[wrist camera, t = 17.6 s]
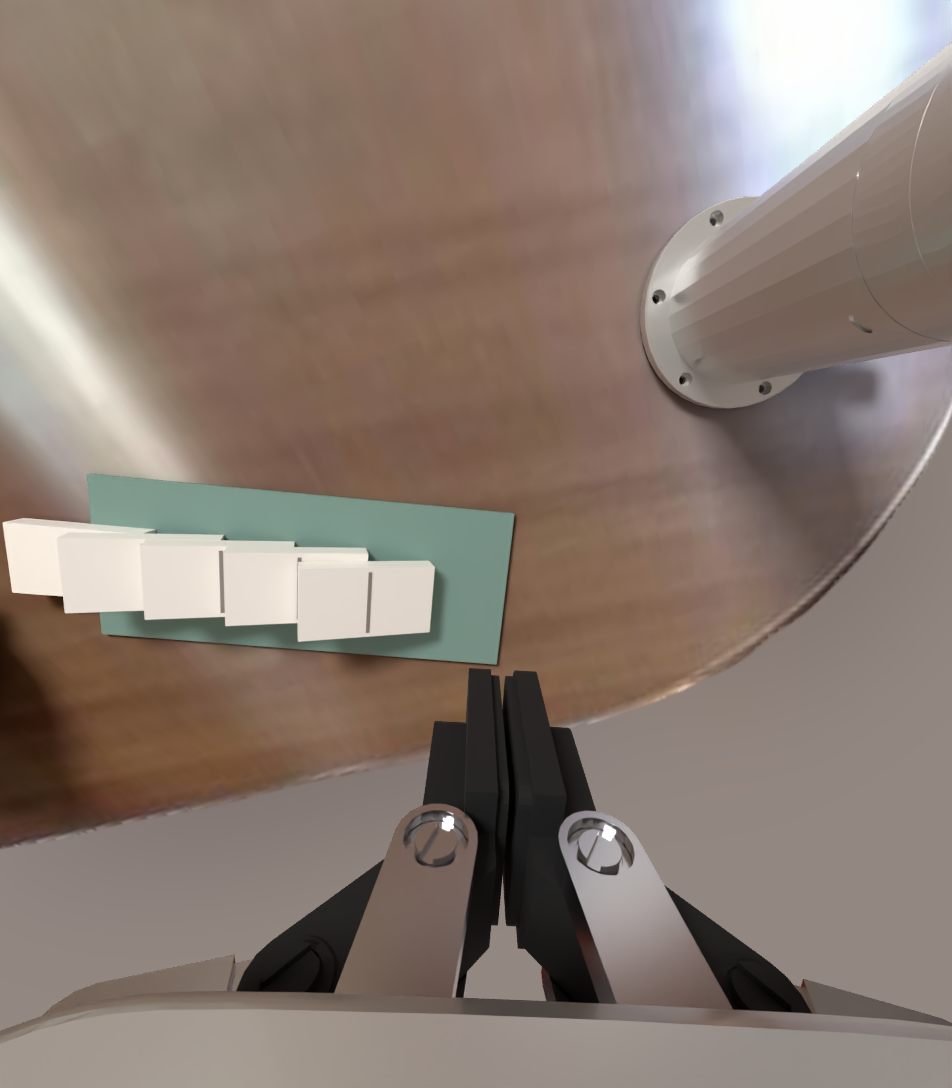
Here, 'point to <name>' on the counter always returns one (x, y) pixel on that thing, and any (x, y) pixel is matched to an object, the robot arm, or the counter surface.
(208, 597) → the domino
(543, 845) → the robot arm
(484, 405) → the counter surface
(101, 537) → the domino
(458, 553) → the runner mat
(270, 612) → the domino
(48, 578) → the domino
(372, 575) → the domino
